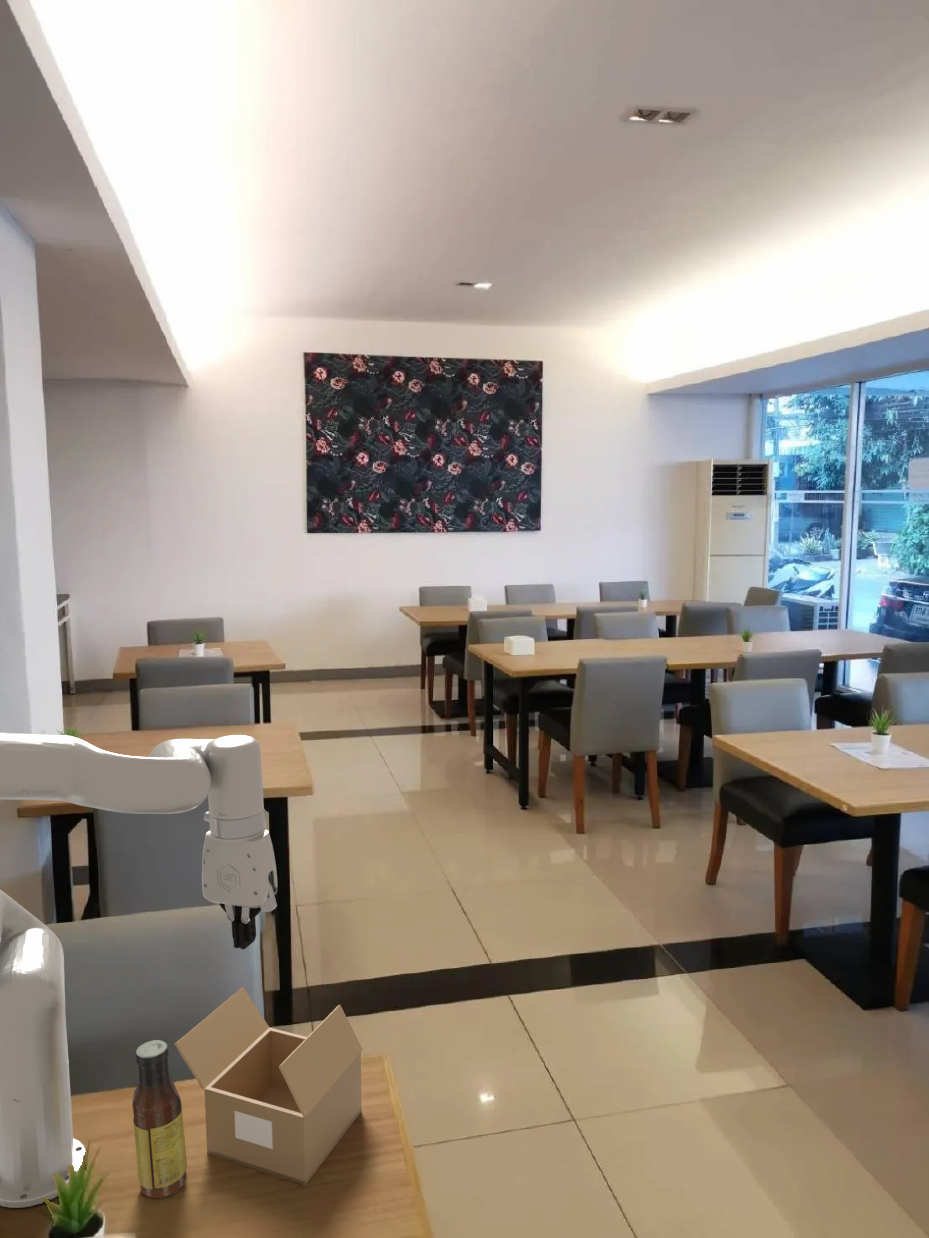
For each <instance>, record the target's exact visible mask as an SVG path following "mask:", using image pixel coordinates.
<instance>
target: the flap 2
mask: <svg viewBox="0 0 929 1238" xmlns="http://www.w3.org/2000/svg"><path fill="white" fill-rule="evenodd" d="M306 1037H307V1038H306V1039H305V1040H304V1041H303V1042H302V1043H301V1044H300V1045H299V1046H298V1047H297V1048H296V1049H295V1050H294V1051H293V1052H292V1053H291V1054H290V1055H289V1056H288V1058H287V1059H286V1060H285V1061H284V1062H283V1063H282V1064H281V1065H280V1066H279V1069H280V1071H281V1073H282V1075H283V1077H284V1079H285V1081H286V1083H287V1085H288V1087H289V1089H290V1091H291V1093H292V1095H293V1097H294V1099H295V1101H296V1103H297V1105H298V1107H299V1109H300V1111H301V1113H302V1115H303V1118H304V1117H306V1116H307V1115H308V1114H309V1112H310V1111H311V1110H312V1109H313V1108H314V1107H315V1105H316V1104H317V1103H318V1102H319V1101H320V1099H321V1098H322V1097H323V1096H324V1095H325V1094H326V1092H327V1091H328V1090H329V1089H330V1088H331V1087H332V1085H333V1084H334V1083H335V1082H336V1081H337V1080H338V1078H339V1077H340V1076H341V1075H342V1074H343V1073H344V1071H345V1070H346V1069H347V1068H348V1067H349V1065H350V1064H351V1063H352V1062H353V1061H354V1060H355V1058H356V1057H357V1056H358V1055H359V1054H360V1053H362V1052H363V1048H362V1046H361V1043H360V1041H359V1040H358V1038H357V1036H356V1034H355V1031H354V1029H353V1028H352V1026H351V1023H350V1021H349V1019H348V1018H347V1016H346V1014H345V1012H344V1009H343V1007H342V1005H341V1004H339V1005H337V1006H336V1007H335V1008H334V1009H332V1012H330V1013H329V1014H328V1016H326V1018H324V1019H323V1020H322V1021H321V1023H319V1025H318V1026H316V1027H315V1029H314V1030H313V1031H312V1032H311V1033H310V1034H309V1035H308V1036H306Z"/></svg>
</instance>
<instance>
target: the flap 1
mask: <svg viewBox="0 0 929 1238" xmlns="http://www.w3.org/2000/svg"><path fill="white" fill-rule="evenodd" d="M269 1027H270V1026H269V1024H268V1023H267V1021H266V1020H265V1019H264V1016H263V1014H261V1012H260V1010H259V1009H258V1007H257V1006H256V1004H255V1003H254V1002H253V1000H252V998H251V996H250V995H249V994H248V992H247V990H246V989H245V988H244V986H242V987H241V988H240V989H238V990H237V991H236V992H235V993H234V994H232V995H231V996H230V997H229V998H227V1000H225V1001H224V1002H222V1003H221V1004H220V1005H218V1007H217V1008H216V1009H214V1010H213V1011H212V1012H211V1013H209V1014H208V1015H207V1016H206V1017H205V1018H204V1019H202V1020H201V1021H200V1022H199V1023H198V1024H197V1025H195V1026H194V1027H193V1028H191V1029H190V1030H189V1031H188V1032H187V1033H186V1034H185V1035H183V1036H182V1037H181V1038H180V1039H178V1040H177V1041H176V1042H174V1043H173V1045H174V1047H175V1048H176V1050H177V1051H178V1053H179V1054H180V1056H181V1057H182V1060H183V1061H184V1062H185V1064H186V1066H187V1067H188V1069H189V1070H190V1073H192V1075H193V1077H194V1078H195V1080H196V1082H197V1083H198V1085H199V1086H200V1088H201V1089H202V1090H205V1088H206V1087H207V1086H208V1085H209V1084H210V1083H211V1082H212V1081H213V1080H214V1079H215V1078H216V1077H217V1076H218V1075H219V1074H221V1073H222V1072H223V1071H224V1070H225V1069H226V1068H227V1067H228V1066H229V1065H230V1064H231V1063H232V1062H233V1061H234V1060H235V1059H237V1058H238V1057H239V1056H240V1055H241V1054H242V1053H243V1052H244V1051H245V1050H246V1049H247V1048H248V1047H249V1046H250V1045H251V1044H252V1043H254V1042H255V1041H256V1040H257V1039H258V1038H259V1037H260V1036H261V1035H262V1034H263V1033H264V1032H265V1031H266V1030H267V1029H268V1028H269Z"/></svg>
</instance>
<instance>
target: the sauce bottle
mask: <svg viewBox="0 0 929 1238" xmlns="http://www.w3.org/2000/svg"><path fill="white" fill-rule="evenodd" d="M169 1054H170V1053H169V1046H168V1044H167V1043H166V1042H165V1041H163V1040H160V1039H156V1040H155V1039H153V1040H150V1041H147V1042H144V1043H142V1044H141V1045H139V1046H138V1047H137V1048H136V1051H135V1061H136V1064H137V1065H138V1075H139V1076H138V1085H137V1086H136V1087H135V1090H134V1092H133V1097H132V1105H131V1106H132V1112H133V1113H132V1114H133V1119H132V1121H133V1131H134V1132H133V1133H134V1144H135V1145H134V1146H135V1152H136V1165H137V1175H138V1183H139V1184H140V1189H141V1192H142V1193H143V1195H145V1196H147V1197H149V1198H153V1199H162V1198H163V1199H164V1198H167V1197H170V1196H172V1195H173V1194H175V1193H177V1192H178V1191H180V1190H181V1189H182V1187H183V1186H184V1185H185V1183H186V1181H187V1168H188V1161H187V1160H188V1159H187V1150H186V1149H187V1148H186V1139H185V1128H184V1116H183V1115H184V1114H183V1105H182V1099H181V1096H180V1094H179V1092H178V1090H177V1088H176V1085H175V1083H174V1081H173V1079H172V1077H171V1074H170V1069H169V1061H168V1060H169V1059H168V1057H169Z"/></svg>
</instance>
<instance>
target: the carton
mask: <svg viewBox="0 0 929 1238" xmlns="http://www.w3.org/2000/svg"><path fill="white" fill-rule="evenodd" d="M307 1037H308V1036H304V1035H300V1034H296V1033H293V1032H289V1031H284V1030H280V1029H277V1028H274V1027H273V1028H272V1027H270V1026H269V1028H268V1029H267V1030H266V1031H265V1032H264V1033H263V1034H262V1035H261V1036H260V1037H259V1038H258V1039H257V1040H256V1041H255V1042H254V1043H252V1044H251V1045H250V1046H249V1047H248V1048H247V1049H246V1050H245V1051H244V1052H243V1053H242V1054H241V1055H240V1056H239V1057H238V1058H237V1059H235V1060H234V1061H233V1062H232V1063H231V1064H230V1065H229V1066H228V1067H227V1068H226V1069H225V1070H224V1071H223V1072H222V1073H221V1074H219V1075H218V1076H217V1077H216V1078H215V1079H214V1080H213V1081H212V1082H211V1083H210V1084H209V1085H208V1086H207V1087H206V1088H205V1089H204V1105H205V1106H204V1107H205V1109H204V1110H205V1134H206V1154H207V1155H210V1156H213V1157H216V1158H219V1159H222V1160H225V1161H228V1162H231V1163H235V1164H238V1165H240V1166H245V1167H247V1168H250V1169H253V1170H256V1171H259V1172H262V1173H264V1174H269V1175H272V1176H275V1177H277V1178H281V1179H284V1180H287V1181H290V1182H293V1183H297V1184H299V1185H303V1186H306V1185H307V1184H308V1182H309V1181H310V1180H311V1179H312V1177H313V1176H314V1174H315V1173H316V1172H317V1171H318V1169H319V1168H321V1166H322V1164H323V1163H324V1162H325V1160H326V1159H327V1158H328V1156H329V1155H330V1154H331V1152H333V1150H334V1149H335V1147H336V1146H337V1145H338V1144H339V1142H340V1141H341V1140H342V1138H343V1137H344V1136H345V1134H347V1131H349V1129H350V1128H351V1126H352V1125H354V1123H355V1121H356V1120H357V1118H359V1116H360V1115H361V1114H362V1112H363V1111H362V1058H361V1057H362V1056H361V1055H362V1054H361V1053H362V1052H361V1053H360V1054H359V1055H358V1056H357V1057H356V1058H355V1060H354V1061H353V1062H352V1063H351V1064H350V1065H349V1067H348V1068H347V1069H346V1070H345V1071H344V1073H343V1074H342V1075H341V1076H340V1077H339V1078H338V1080H337V1081H336V1082H335V1083H334V1084H333V1085H332V1087H331V1088H330V1089H329V1090H328V1091H327V1092H326V1094H325V1095H324V1096H323V1097H322V1098H321V1099H320V1101H319V1102H318V1103H317V1104H316V1105H315V1107H314V1108H313V1109H312V1110H311V1111H310V1112H309V1114H308V1115H307V1116H306V1117H304V1118H303V1115H302V1113H301V1111H300V1109H299V1107H298V1105H297V1103H296V1101H295V1099H294V1097H293V1095H292V1093H291V1091H290V1089H289V1087H288V1085H287V1083H286V1081H285V1079H284V1077H283V1075H282V1073H281V1071H280V1069H279V1066H280V1065H281V1064H282V1063H283V1062H284V1061H285V1060H286V1059H287V1058H288V1056H289V1055H290V1054H291V1053H292V1052H293V1051H294V1050H295V1049H296V1048H297V1047H298V1046H299V1045H300V1044H301V1043H302V1042H303V1041H304V1040H305V1039H306V1038H307Z"/></svg>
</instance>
